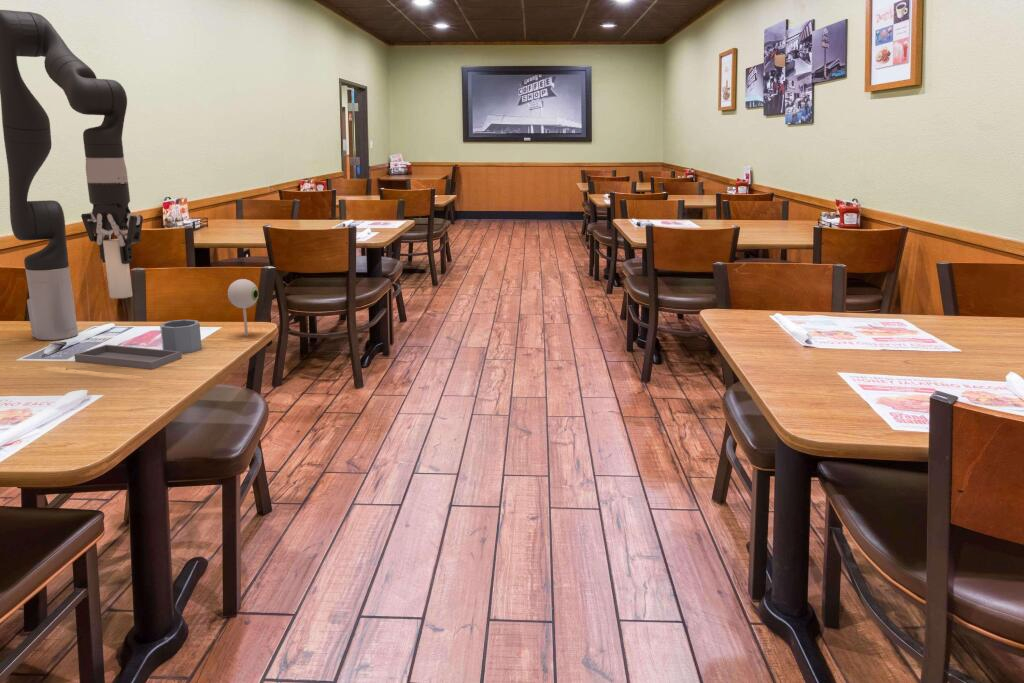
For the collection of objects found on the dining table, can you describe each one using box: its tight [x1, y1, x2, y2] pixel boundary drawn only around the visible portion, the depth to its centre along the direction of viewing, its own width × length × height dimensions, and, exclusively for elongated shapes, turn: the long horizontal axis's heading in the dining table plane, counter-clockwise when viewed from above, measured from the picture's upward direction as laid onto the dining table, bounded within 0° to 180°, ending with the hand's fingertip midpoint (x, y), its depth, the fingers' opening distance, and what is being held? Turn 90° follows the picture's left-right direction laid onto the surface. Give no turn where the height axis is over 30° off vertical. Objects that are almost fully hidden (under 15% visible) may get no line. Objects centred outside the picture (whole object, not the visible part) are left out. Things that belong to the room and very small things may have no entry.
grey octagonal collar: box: [159, 319, 203, 355], centre depth 177 cm, size 8×8×7 cm
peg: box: [103, 238, 133, 299], centre depth 164 cm, size 4×4×12 cm
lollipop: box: [227, 278, 260, 337], centre depth 189 cm, size 7×7×15 cm
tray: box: [74, 344, 182, 370], centre depth 169 cm, size 20×9×2 cm, turn 74°
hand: (117, 262), depth 163 cm, fingers closed on peg, 4 cm apart
